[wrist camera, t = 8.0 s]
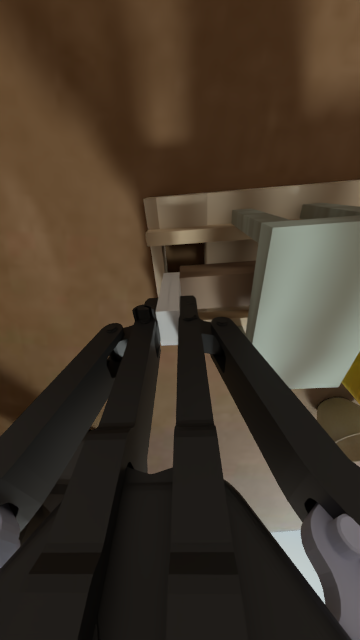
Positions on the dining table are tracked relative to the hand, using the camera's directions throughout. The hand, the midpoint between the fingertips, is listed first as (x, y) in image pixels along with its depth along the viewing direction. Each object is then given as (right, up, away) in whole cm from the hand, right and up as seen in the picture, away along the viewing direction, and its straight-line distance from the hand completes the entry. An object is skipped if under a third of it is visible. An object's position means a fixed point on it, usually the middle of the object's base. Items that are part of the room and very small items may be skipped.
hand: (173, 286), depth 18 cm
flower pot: (+28, -18, +18) cm, 38 cm away
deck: (+10, +3, +3) cm, 11 cm away
